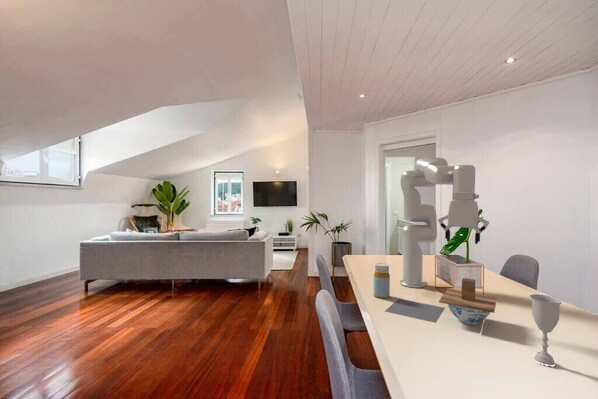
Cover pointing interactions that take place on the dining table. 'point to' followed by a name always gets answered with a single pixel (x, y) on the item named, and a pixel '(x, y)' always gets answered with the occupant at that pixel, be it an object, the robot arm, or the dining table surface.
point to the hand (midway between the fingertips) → (462, 242)
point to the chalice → (545, 321)
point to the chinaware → (468, 314)
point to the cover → (469, 297)
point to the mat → (416, 310)
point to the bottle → (381, 281)
